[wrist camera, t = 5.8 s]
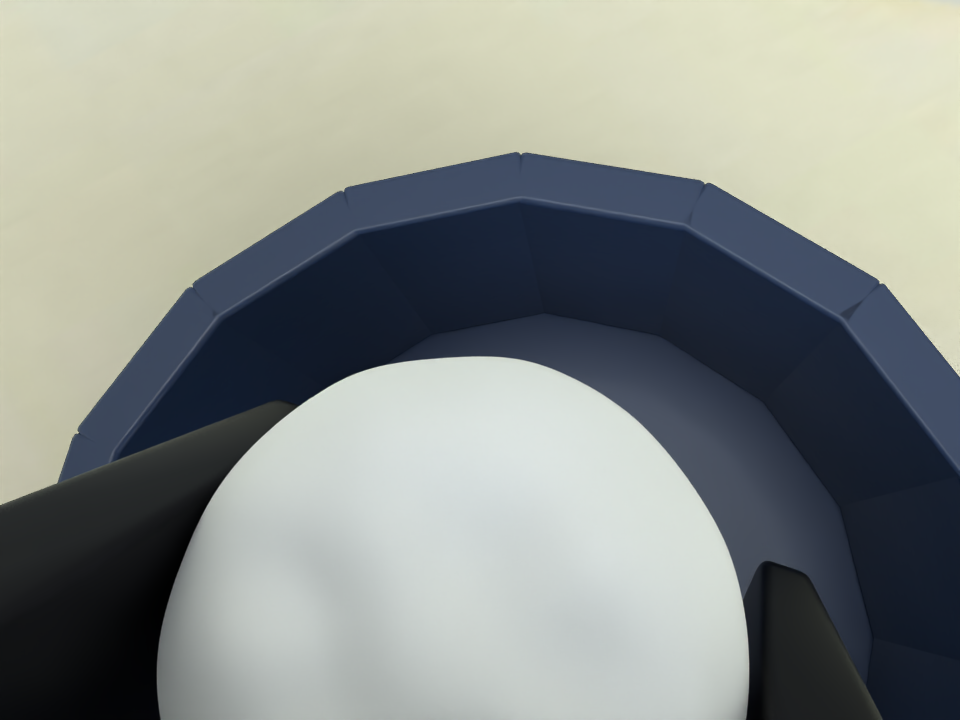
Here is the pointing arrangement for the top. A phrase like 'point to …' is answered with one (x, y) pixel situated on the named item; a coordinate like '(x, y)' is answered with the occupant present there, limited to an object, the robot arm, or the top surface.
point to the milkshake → (455, 563)
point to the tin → (617, 368)
